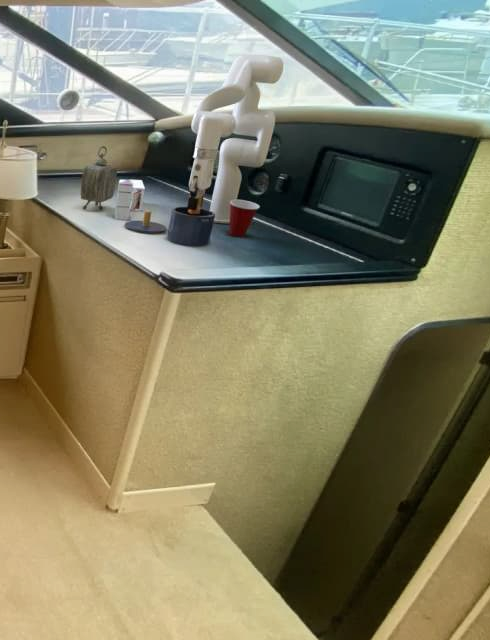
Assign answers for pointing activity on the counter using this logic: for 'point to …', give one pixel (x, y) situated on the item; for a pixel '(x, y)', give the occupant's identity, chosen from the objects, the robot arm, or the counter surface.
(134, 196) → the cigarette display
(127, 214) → the syrup box
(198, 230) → the pot
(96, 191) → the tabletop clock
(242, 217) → the plastic cup
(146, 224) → the lid
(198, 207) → the supplement box
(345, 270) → the counter surface
